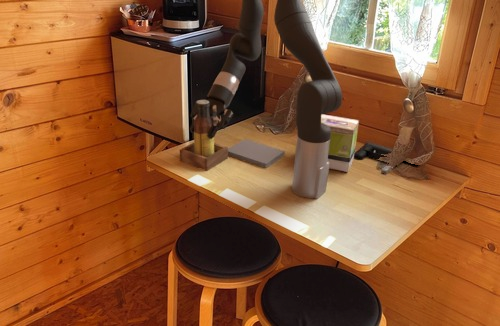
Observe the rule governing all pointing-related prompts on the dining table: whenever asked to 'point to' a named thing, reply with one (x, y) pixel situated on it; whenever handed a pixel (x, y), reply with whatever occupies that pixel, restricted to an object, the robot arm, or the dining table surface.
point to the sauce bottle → (203, 130)
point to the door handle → (373, 153)
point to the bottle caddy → (200, 161)
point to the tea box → (341, 141)
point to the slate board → (255, 153)
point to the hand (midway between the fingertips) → (200, 134)
